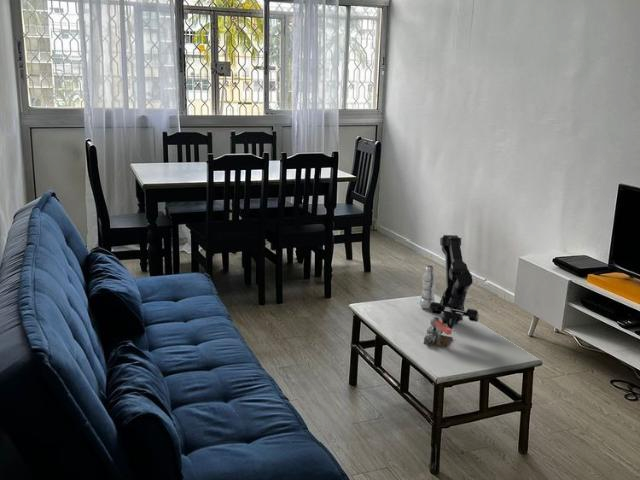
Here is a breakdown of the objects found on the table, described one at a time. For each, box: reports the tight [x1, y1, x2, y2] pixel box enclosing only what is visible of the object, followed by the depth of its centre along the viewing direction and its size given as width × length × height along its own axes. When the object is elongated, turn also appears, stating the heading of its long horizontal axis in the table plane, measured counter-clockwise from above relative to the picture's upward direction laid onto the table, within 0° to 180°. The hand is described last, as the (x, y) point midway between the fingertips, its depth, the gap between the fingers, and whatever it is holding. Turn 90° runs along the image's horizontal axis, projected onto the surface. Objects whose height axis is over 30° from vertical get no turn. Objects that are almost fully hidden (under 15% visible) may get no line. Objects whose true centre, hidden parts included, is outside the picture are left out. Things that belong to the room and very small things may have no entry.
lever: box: [430, 316, 453, 336], centre depth 245 cm, size 3×13×2 cm, turn 21°
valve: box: [423, 325, 453, 349], centre depth 250 cm, size 12×9×7 cm
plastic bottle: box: [419, 264, 437, 310], centre depth 283 cm, size 6×7×20 cm
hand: (448, 331), depth 242 cm, fingers closed
